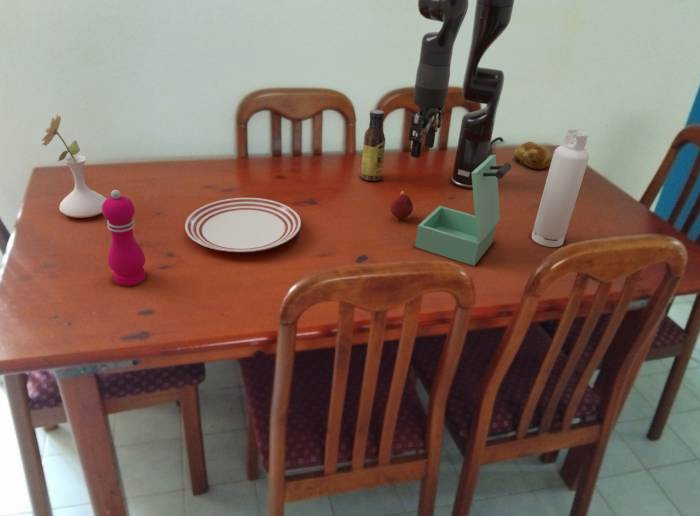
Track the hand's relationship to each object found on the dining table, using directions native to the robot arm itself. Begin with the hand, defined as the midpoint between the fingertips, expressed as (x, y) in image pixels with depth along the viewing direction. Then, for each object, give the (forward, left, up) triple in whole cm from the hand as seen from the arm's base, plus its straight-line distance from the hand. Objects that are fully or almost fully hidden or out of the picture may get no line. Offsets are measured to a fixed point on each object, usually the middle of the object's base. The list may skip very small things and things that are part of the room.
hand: (422, 152), depth 145 cm
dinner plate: (+29, -32, -20) cm, 48 cm away
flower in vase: (+44, -70, -20) cm, 85 cm away
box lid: (+4, +18, -6) cm, 19 cm away
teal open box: (+4, +13, -20) cm, 24 cm away
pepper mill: (+59, -39, -20) cm, 74 cm away
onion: (-1, -4, -20) cm, 20 cm away
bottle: (-14, +32, -20) cm, 40 cm away
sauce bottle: (-21, -23, -20) cm, 37 cm away
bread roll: (-65, +14, -20) cm, 69 cm away
